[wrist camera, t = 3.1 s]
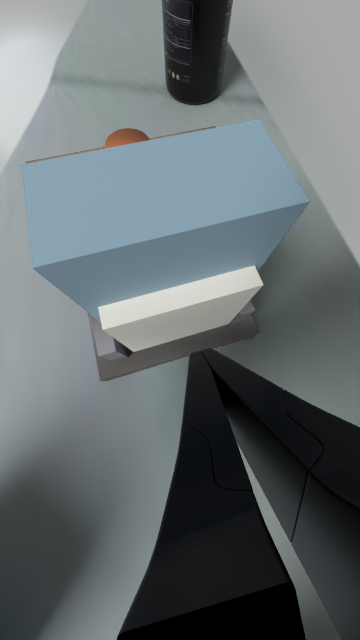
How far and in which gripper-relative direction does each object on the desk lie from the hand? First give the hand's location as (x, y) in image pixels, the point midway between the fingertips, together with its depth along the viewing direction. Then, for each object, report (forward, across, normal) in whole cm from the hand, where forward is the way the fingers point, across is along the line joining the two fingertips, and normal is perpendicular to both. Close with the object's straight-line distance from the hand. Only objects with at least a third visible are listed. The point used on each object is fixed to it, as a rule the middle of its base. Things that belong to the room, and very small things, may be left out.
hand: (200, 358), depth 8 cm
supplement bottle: (+29, -10, -17) cm, 35 cm away
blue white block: (+7, 0, +2) cm, 8 cm away
